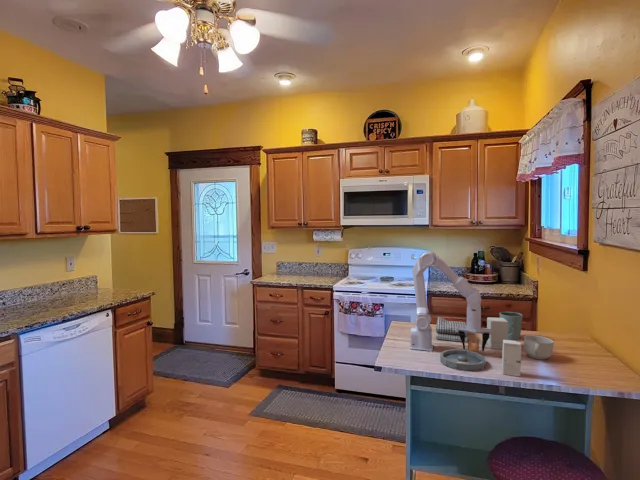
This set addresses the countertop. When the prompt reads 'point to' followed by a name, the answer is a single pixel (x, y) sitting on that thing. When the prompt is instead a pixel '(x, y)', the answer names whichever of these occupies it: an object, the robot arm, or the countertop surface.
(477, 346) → the bead
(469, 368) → the groove tray
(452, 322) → the towel
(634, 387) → the countertop surface
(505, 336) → the supplement box
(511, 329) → the green plant pot
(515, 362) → the skincare box
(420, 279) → the robot arm
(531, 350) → the teacup
